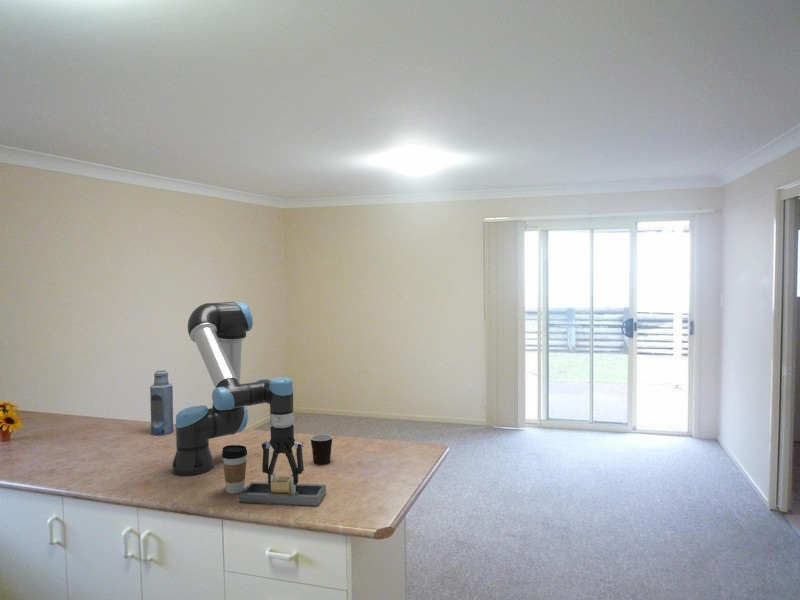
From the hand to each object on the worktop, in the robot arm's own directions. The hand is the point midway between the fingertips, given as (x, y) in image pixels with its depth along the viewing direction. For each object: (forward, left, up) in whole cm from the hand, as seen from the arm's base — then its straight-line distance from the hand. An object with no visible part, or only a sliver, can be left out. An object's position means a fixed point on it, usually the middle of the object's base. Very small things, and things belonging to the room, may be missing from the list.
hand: (283, 493), depth 176 cm
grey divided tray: (0, 0, -2) cm, 2 cm away
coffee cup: (-19, +5, -2) cm, 20 cm away
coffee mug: (+4, +36, -2) cm, 36 cm away
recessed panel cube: (0, 0, -1) cm, 1 cm away
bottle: (-83, +67, -2) cm, 107 cm away
